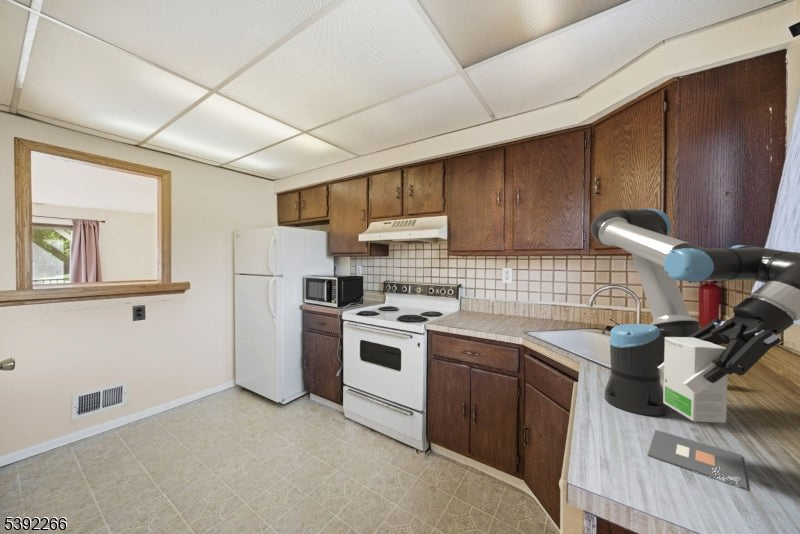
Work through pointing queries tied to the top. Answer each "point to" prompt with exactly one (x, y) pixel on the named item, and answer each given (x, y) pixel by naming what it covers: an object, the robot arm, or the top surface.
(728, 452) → the mat
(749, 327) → the robot arm
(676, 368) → the skincare box
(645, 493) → the top surface
